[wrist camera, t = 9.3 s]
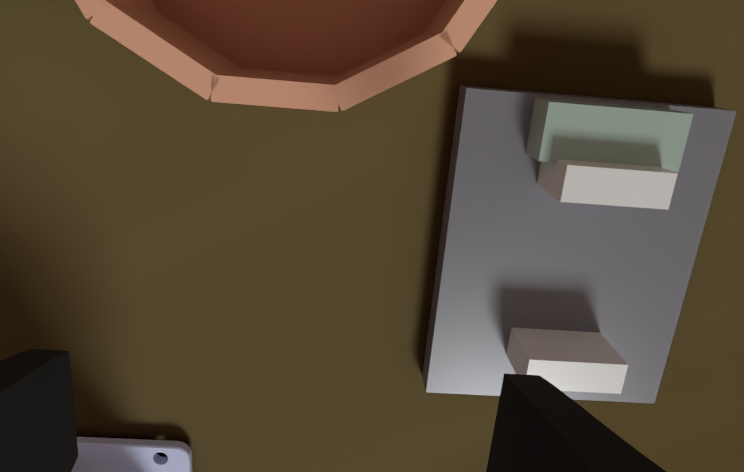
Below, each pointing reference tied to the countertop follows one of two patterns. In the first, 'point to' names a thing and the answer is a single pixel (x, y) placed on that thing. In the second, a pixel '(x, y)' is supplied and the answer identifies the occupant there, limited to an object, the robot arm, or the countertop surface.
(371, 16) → the cup
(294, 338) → the countertop surface
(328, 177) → the countertop surface
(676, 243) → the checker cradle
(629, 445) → the robot arm
